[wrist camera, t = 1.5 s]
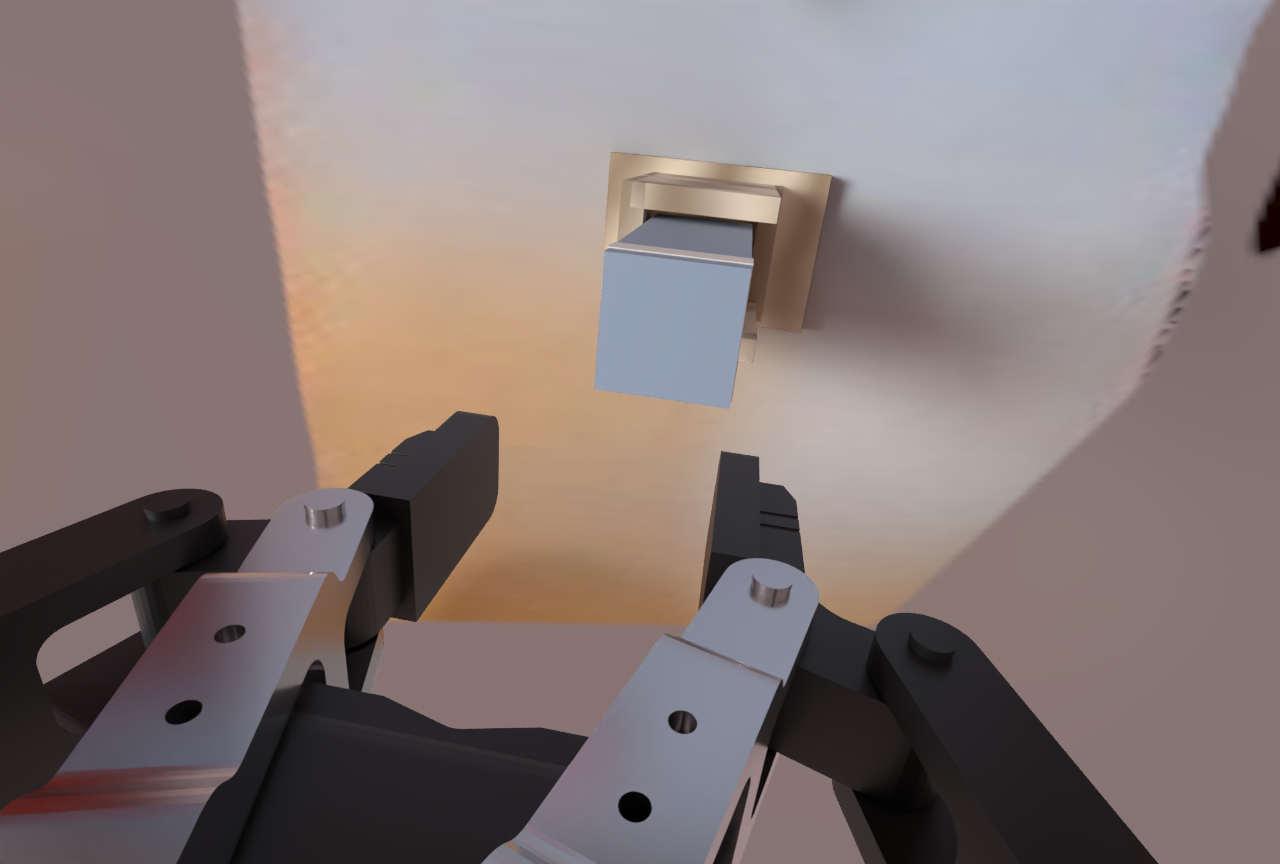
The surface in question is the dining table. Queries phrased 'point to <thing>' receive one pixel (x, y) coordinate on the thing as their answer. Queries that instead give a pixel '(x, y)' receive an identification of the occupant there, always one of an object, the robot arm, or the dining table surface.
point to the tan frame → (733, 193)
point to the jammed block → (674, 309)
